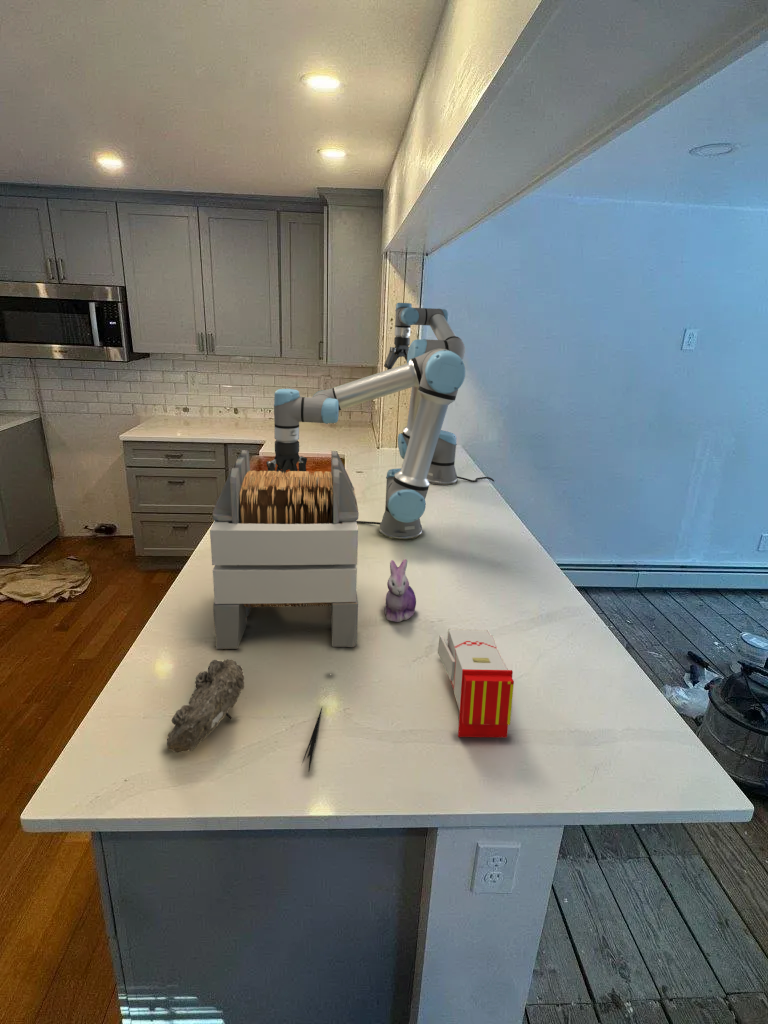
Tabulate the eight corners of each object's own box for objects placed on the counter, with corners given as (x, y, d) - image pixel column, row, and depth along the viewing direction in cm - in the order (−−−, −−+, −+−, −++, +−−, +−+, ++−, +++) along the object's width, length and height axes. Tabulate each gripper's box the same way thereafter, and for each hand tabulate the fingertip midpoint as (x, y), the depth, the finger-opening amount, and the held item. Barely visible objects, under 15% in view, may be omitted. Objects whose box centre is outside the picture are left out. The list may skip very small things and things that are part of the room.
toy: (488, 613, 130) (523, 677, 101) (484, 667, 133) (517, 744, 104) (435, 612, 130) (455, 676, 101) (432, 666, 133) (451, 743, 103)
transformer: (234, 582, 160) (226, 440, 146) (350, 581, 163) (353, 443, 150) (213, 651, 128) (201, 478, 114) (357, 647, 132) (363, 480, 118)
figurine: (392, 627, 141) (395, 572, 136) (374, 608, 149) (376, 556, 144) (425, 619, 145) (429, 566, 140) (405, 601, 154) (408, 550, 149)
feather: (331, 679, 122) (336, 673, 122) (307, 777, 96) (313, 769, 95) (324, 675, 122) (329, 669, 121) (298, 772, 95) (304, 764, 95)
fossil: (192, 660, 117) (244, 628, 112) (224, 691, 120) (276, 661, 115) (142, 746, 98) (202, 712, 93) (182, 779, 101) (242, 748, 96)
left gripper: (266, 446, 167) (267, 519, 174) (319, 439, 179) (318, 508, 186) (253, 441, 172) (255, 512, 180) (305, 434, 184) (305, 502, 192)
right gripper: (388, 337, 263) (386, 383, 270) (425, 337, 279) (422, 381, 287) (377, 336, 268) (376, 381, 276) (414, 336, 285) (412, 379, 292)
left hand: (287, 510), depth 183 cm, fingers closed on block, 6 cm apart
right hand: (399, 381), depth 281 cm, fingers open, 13 cm apart
